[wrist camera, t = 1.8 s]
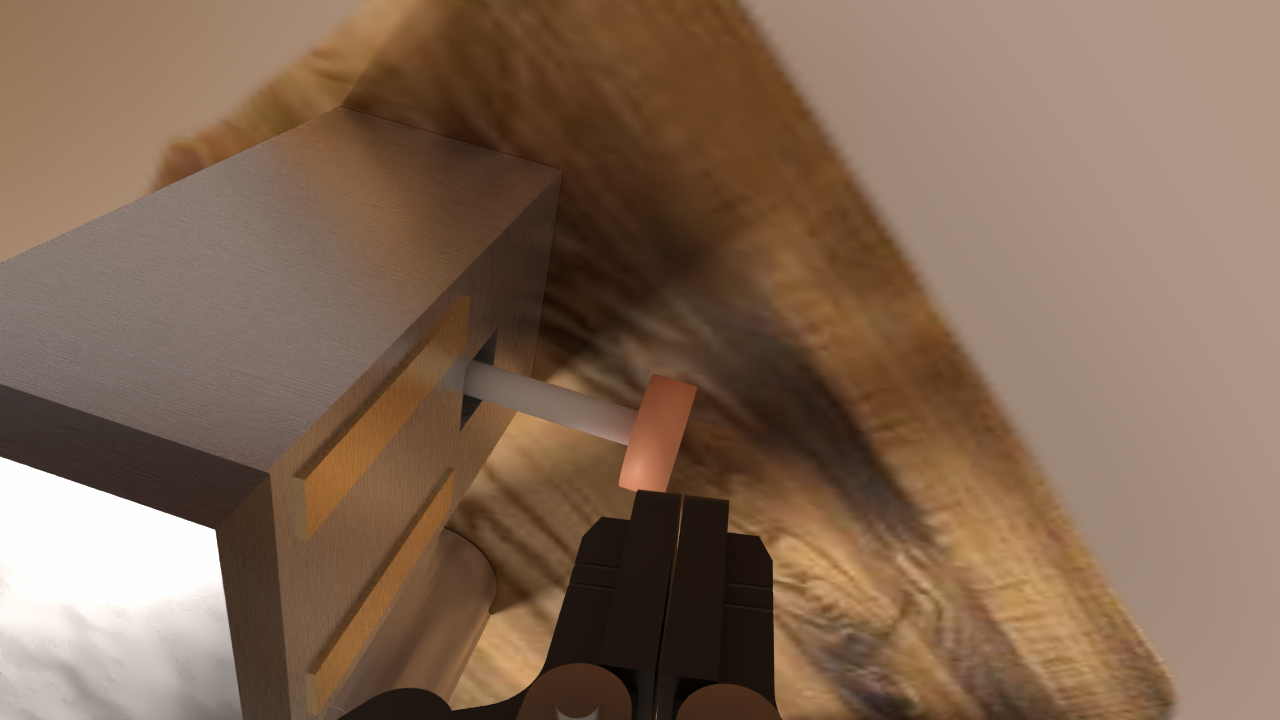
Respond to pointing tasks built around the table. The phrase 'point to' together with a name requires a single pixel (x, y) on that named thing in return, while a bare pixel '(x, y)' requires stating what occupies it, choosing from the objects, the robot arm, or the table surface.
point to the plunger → (600, 417)
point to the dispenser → (252, 416)
